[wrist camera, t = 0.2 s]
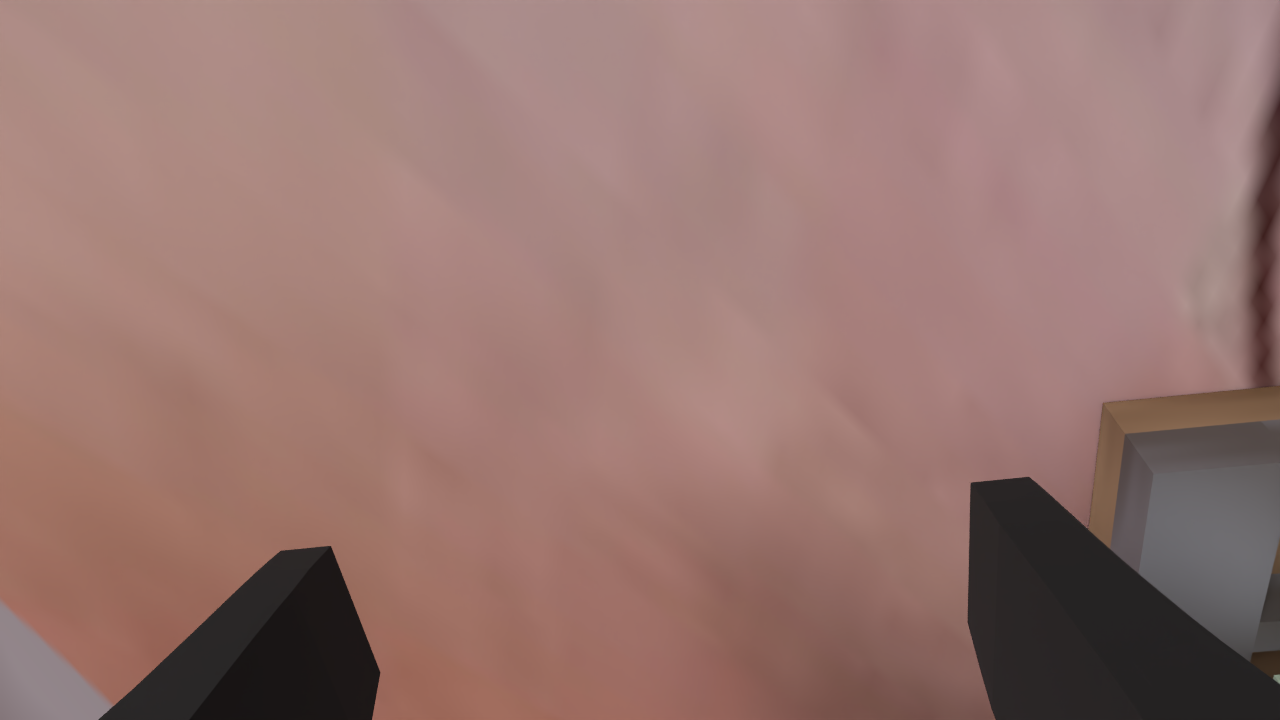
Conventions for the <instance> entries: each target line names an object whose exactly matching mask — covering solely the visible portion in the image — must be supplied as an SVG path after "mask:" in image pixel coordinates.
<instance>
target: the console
mask: <svg viewBox="0 0 1280 720" xmlns="http://www.w3.org/2000/svg"><path fill="white" fill-rule="evenodd" d="M1089 531H1090V532H1092V533H1093V534H1094V535H1095V536H1096V537H1097V538H1098V539H1099V540H1101V541H1102V542H1103V543H1104V544H1105V545H1106V546H1107V547H1108V548H1110V549H1111V550H1112V551H1113V552H1114V553H1115V554H1116V555H1118V556H1119V557H1120V558H1121V559H1122V560H1123V561H1124V562H1126V563H1127V564H1128V565H1129V566H1130V567H1131V568H1133V569H1134V570H1135V571H1136V572H1137V573H1138V574H1140V575H1141V576H1142V577H1143V578H1144V579H1146V580H1147V581H1148V582H1149V583H1150V584H1152V585H1153V586H1154V587H1155V588H1157V589H1158V590H1159V591H1160V592H1161V593H1163V594H1164V595H1165V596H1166V597H1167V598H1169V599H1170V600H1171V601H1172V602H1174V603H1175V604H1176V605H1177V606H1178V607H1180V608H1181V609H1182V610H1183V611H1184V612H1186V613H1187V614H1188V615H1189V616H1191V617H1192V618H1193V619H1194V620H1196V621H1197V622H1198V623H1199V624H1201V625H1202V626H1203V627H1205V628H1206V629H1207V630H1208V631H1210V632H1211V633H1212V634H1213V635H1215V636H1216V637H1217V638H1219V639H1220V640H1221V641H1222V642H1224V643H1225V644H1226V645H1228V646H1229V647H1230V648H1232V649H1233V650H1234V651H1236V652H1237V653H1238V654H1240V655H1241V656H1243V657H1244V658H1245V659H1247V660H1248V661H1249V662H1251V663H1252V664H1253V665H1255V666H1256V667H1257V668H1259V669H1260V670H1261V671H1263V672H1264V673H1265V674H1267V675H1268V676H1269V677H1271V678H1272V679H1273V677H1274V675H1280V386H1274V387H1264V388H1254V389H1243V390H1233V391H1222V392H1212V393H1202V394H1191V395H1181V396H1171V397H1160V398H1150V399H1140V400H1129V401H1119V402H1109V403H1103V408H1102V417H1101V426H1100V434H1099V443H1098V452H1097V461H1096V469H1095V478H1094V487H1093V496H1092V504H1091V513H1090V522H1089Z"/></svg>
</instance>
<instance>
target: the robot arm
mask: <svg viewBox="0 0 1280 720" xmlns="http://www.w3.org/2000/svg"><path fill="white" fill-rule="evenodd" d="M968 625H969V629H970V633H971V636H972V640H973V644H974V648H975V651H976V655H977V659H978V662H979V666H980V670H981V673H982V677H983V680H984V684H985V687H986V691H987V694H988V698H989V701H990V704H991V708H992V711H993V713H994V716H995V718H996V720H1280V684H1279V683H1278V682H1276V681H1275V680H1274V679H1272V678H1271V677H1269V676H1268V675H1267V674H1265V673H1264V672H1263V671H1261V670H1260V669H1259V668H1257V667H1256V666H1255V665H1253V664H1252V663H1251V662H1249V661H1248V660H1247V659H1245V658H1244V657H1243V656H1241V655H1240V654H1238V653H1237V652H1236V651H1234V650H1233V649H1232V648H1230V647H1229V646H1228V645H1226V644H1225V643H1224V642H1222V641H1221V640H1220V639H1219V638H1217V637H1216V636H1215V635H1213V634H1212V633H1211V632H1210V631H1208V630H1207V629H1206V628H1205V627H1203V626H1202V625H1201V624H1199V623H1198V622H1197V621H1196V620H1194V619H1193V618H1192V617H1191V616H1189V615H1188V614H1187V613H1186V612H1184V611H1183V610H1182V609H1181V608H1180V607H1178V606H1177V605H1176V604H1175V603H1174V602H1172V601H1171V600H1170V599H1169V598H1167V597H1166V596H1165V595H1164V594H1163V593H1161V592H1160V591H1159V590H1158V589H1157V588H1155V587H1154V586H1153V585H1152V584H1150V583H1149V582H1148V581H1147V580H1146V579H1144V578H1143V577H1142V576H1141V575H1140V574H1138V573H1137V572H1136V571H1135V570H1134V569H1133V568H1131V567H1130V566H1129V565H1128V564H1127V563H1126V562H1124V561H1123V560H1122V559H1121V558H1120V557H1119V556H1118V555H1116V554H1115V553H1114V552H1113V551H1112V550H1111V549H1110V548H1108V547H1107V546H1106V545H1105V544H1104V543H1103V542H1102V541H1101V540H1099V539H1098V538H1097V537H1096V536H1095V535H1094V534H1093V533H1092V532H1090V531H1089V530H1088V529H1087V528H1086V527H1085V526H1084V525H1083V524H1082V523H1080V522H1079V521H1078V520H1077V519H1076V518H1075V517H1074V516H1073V515H1072V514H1070V513H1069V512H1068V511H1067V510H1066V509H1065V508H1064V507H1063V506H1062V505H1061V504H1059V503H1058V502H1057V501H1056V500H1055V499H1054V498H1053V497H1052V496H1051V495H1050V494H1048V493H1047V492H1046V491H1045V490H1044V489H1043V488H1042V487H1041V486H1039V485H1038V484H1037V483H1036V482H1035V481H1033V480H1032V479H1031V478H1030V477H1023V478H1013V479H1003V480H993V481H983V482H973V483H971V492H970V539H969V586H968ZM379 677H380V670H379V668H378V665H377V663H376V660H375V658H374V655H373V653H372V650H371V647H370V645H369V642H368V640H367V637H366V635H365V632H364V630H363V627H362V624H361V622H360V619H359V617H358V614H357V612H356V609H355V607H354V604H353V601H352V599H351V596H350V594H349V591H348V589H347V586H346V584H345V581H344V578H343V576H342V573H341V571H340V568H339V566H338V563H337V561H336V558H335V555H334V553H333V550H332V548H331V546H325V547H315V548H305V549H295V550H285V551H280V552H279V553H278V554H277V555H275V556H274V557H273V558H272V559H271V560H269V561H268V562H267V563H266V564H265V565H264V566H263V567H262V568H260V569H259V570H258V571H257V572H256V573H255V574H254V575H253V576H252V577H251V578H250V579H248V580H247V581H246V582H245V583H244V584H243V585H242V586H241V587H240V588H239V589H238V590H237V591H236V592H235V593H234V594H233V595H232V596H231V597H229V598H228V599H227V600H226V601H225V602H224V603H223V604H222V605H221V606H220V607H219V608H218V609H217V610H216V611H215V612H214V613H213V614H212V615H211V616H210V617H209V618H208V619H207V620H206V621H204V622H203V623H202V624H201V625H200V626H199V627H198V628H197V629H196V630H195V631H194V632H193V633H192V634H191V635H190V636H189V637H188V638H187V639H186V640H185V641H184V642H182V643H181V644H180V645H179V646H178V647H177V648H176V649H175V650H174V651H173V652H172V653H171V654H170V655H169V656H168V657H167V658H166V659H164V660H163V661H162V662H161V663H160V664H159V665H158V666H157V667H156V668H155V669H154V670H153V671H152V672H151V673H150V674H149V675H148V676H147V677H145V678H144V679H143V680H142V681H141V682H140V683H139V684H138V685H137V686H136V687H135V688H134V689H133V690H132V691H130V692H129V693H128V694H127V695H126V696H125V697H124V698H122V699H121V700H120V701H119V702H118V703H117V704H116V705H115V706H113V707H112V708H111V709H110V710H109V711H108V712H107V713H105V714H104V715H103V716H102V717H101V718H100V719H99V720H372V716H373V710H374V705H375V699H376V694H377V688H378V682H379Z"/></svg>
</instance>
